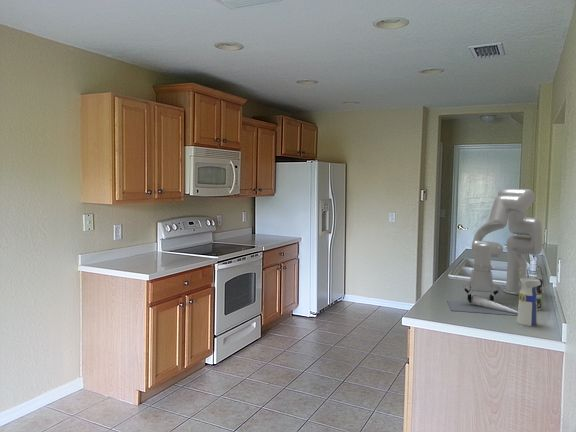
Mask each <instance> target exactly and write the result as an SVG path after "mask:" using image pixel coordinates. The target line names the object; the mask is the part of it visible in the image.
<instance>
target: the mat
mask: <svg viewBox="0 0 576 432" xmlns="http://www.w3.org/2000/svg"><path fill="white" fill-rule="evenodd" d="M447 303H448V306H449V309H450V311H451V312H460V313H461V312H462V313H474V314H488V315H500V316H501V315H502V316H515V317H518V314H517V313H511V312H506V311H501V310H496V309H491V308H487V307H482V306H478V305H473V304H471V303H469V301H457V300H456V301H455V300H454V301H453V300H447ZM502 305H503V306H506V307H508V308H510V309H513V310H516V308H514V307H513V305H511V304H502Z"/></svg>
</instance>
